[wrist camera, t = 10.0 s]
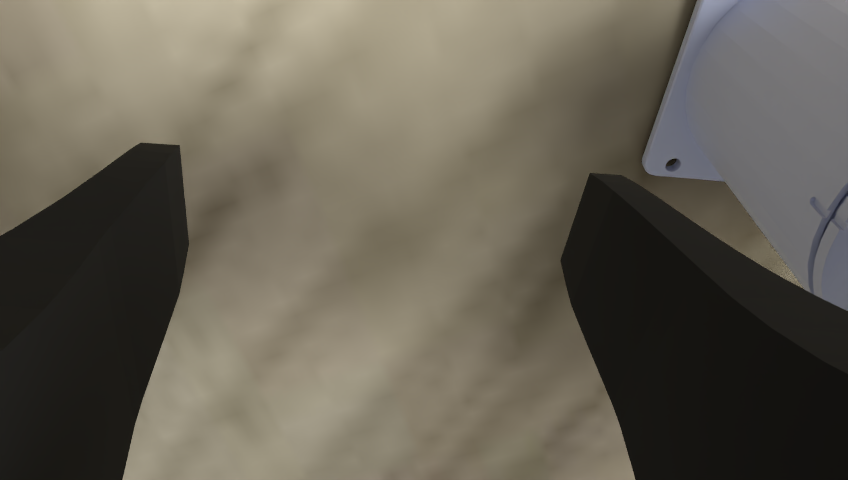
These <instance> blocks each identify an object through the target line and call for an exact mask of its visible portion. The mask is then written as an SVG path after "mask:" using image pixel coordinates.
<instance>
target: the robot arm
mask: <svg viewBox="0 0 848 480" xmlns="http://www.w3.org/2000/svg"><path fill="white" fill-rule="evenodd" d="M675 158H676V159H677V161H676V162H675V163H674V164H673V165H671V166H666V163H667V162H668V161H669V160H671V159H675ZM642 164H643V167H644V169H645V171H646V172H647V173H649V174H651V175H654V176H665V177H677V178H689V179H701V180H712V181H724V182H726V184H727V185H728V186H729V188H730V189H731V191H732V192H733V193H734V195H735V196H736V197H737V199H738V200H739V201H740V203H741V204H742V205H743V207H744V208H745V209H746V211H747V212H748V214H749V215H750V216H751V218H752V219H753V220H754V222H755V223H756V224H757V226H758V227H759V228H760V230H761V231H762V232H763V234H764V235H765V237H766V238H767V239H768V241H769V242H770V243H771V245H772V246H773V247H774V249H775V250H776V251H777V253H778V254H779V255H780V257H781V258H782V260H783V261H784V262H785V264H786V265H787V266H788V268H789V269H790V270H791V272H792V273H793V274H794V276H795V277H796V278H797V280H798V281H799V283H800V284H801V285H802V287H803V288H804V289H805V290H804V289H803V288H801V287H799V286H797V285H795V284H793V283H791V282H789V281H787V280H785V279H783V278H782V277H780V276H778V275H776V274H775V273H773V272H771V271H769V270H768V269H766V268H764V267H762V266H761V265H759V264H758V263H756V262H754V261H753V260H751V259H749V258H748V257H746V256H745V255H743V254H741V253H740V252H738V251H736V250H735V249H733V248H732V247H730V246H729V245H727V244H726V243H724V242H722V241H721V240H719V239H718V238H716V237H715V236H713V235H712V234H710V233H709V232H707V231H706V230H704V229H703V228H701V227H700V226H698V225H697V224H696V223H694V222H693V221H691V220H690V219H688V218H687V217H685V216H684V215H682V214H681V213H680V212H678V211H677V210H675V209H674V208H672V207H671V206H669V205H668V204H667V203H665V202H664V201H662V200H661V199H659V198H658V197H656V196H655V195H653V194H652V193H650V192H649V191H647V190H646V189H644V188H643V187H641V186H639V185H638V184H636V183H635V182H633V181H631V180H629V179H627V178H625V177H624V176H622V175H610V174H595V173H590V174H589V177H588V180H587V183H586V186H585V189H584V192H583V195H582V198H581V201H580V204H579V207H578V210H577V213H576V216H575V219H574V222H573V225H572V228H571V231H570V234H569V237H568V240H567V243H566V246H565V249H564V251H563V254H562V257H561V264H562V269H563V273H564V278H565V282H566V286H567V290H568V294H569V298H570V302H571V305H572V308H573V310H574V313H575V316H576V318H577V321H578V323H579V325H580V328H581V330H582V333H583V335H584V338H585V340H586V343H587V345H588V347H589V350H590V352H591V354H592V357H593V359H594V362H595V364H596V366H597V369H598V371H599V374H600V376H601V378H602V381H603V383H604V385H605V388H606V390H607V393H608V395H609V397H610V400H611V402H612V405H613V407H614V410H615V413H616V416H617V418H618V421H619V424H620V427H621V430H622V434H623V437H624V441H625V444H626V448H627V451H628V455H629V458H630V461H631V465H632V468H633V472H634V475H635V479H636V480H848V0H697V2H696V5H695V8H694V11H693V14H692V17H691V19H690V22H689V25H688V28H687V31H686V34H685V37H684V40H683V42H682V45H681V48H680V51H679V54H678V57H677V60H676V63H675V65H674V68H673V71H672V74H671V77H670V80H669V83H668V86H667V88H666V91H665V94H664V97H663V100H662V103H661V106H660V109H659V111H658V114H657V117H656V120H655V123H654V126H653V129H652V132H651V135H650V137H649V140H648V143H647V146H646V149H645V152H644V155H643V158H642ZM188 246H189V240H188V230H187V219H186V208H185V198H184V187H183V176H182V166H181V155H180V145H167V144H152V143H140V144H138V145H136V146H135V147H133V148H132V149H130V150H129V151H127V152H126V153H125V154H123V155H122V156H121V157H119V158H118V159H116V160H115V161H114V162H112V163H111V164H110V165H108V166H107V167H105V168H104V169H103V170H101V171H100V172H99V173H97V174H96V175H94V176H93V177H92V178H90V179H89V180H87V181H86V182H84V183H83V184H82V185H80V186H79V187H77V188H76V189H74V190H73V191H72V192H70V193H69V194H67V195H66V196H64V197H63V198H62V199H60V200H58V201H57V202H55V203H54V204H52V205H50V206H49V207H47V208H46V209H44V210H42V211H41V212H39V213H38V214H36V215H34V216H33V217H31V218H30V219H28V220H26V221H25V222H23V223H22V224H20V225H18V226H17V227H15V228H14V229H12V230H10V231H8V232H7V233H5V234H3V235H1V236H0V480H122V479H123V474H124V470H125V466H126V461H127V457H128V452H129V448H130V444H131V439H132V435H133V430H134V426H135V423H136V419H137V416H138V413H139V409H140V406H141V402H142V399H143V397H144V394H145V391H146V388H147V385H148V382H149V379H150V377H151V374H152V371H153V368H154V365H155V362H156V360H157V357H158V354H159V351H160V348H161V345H162V342H163V340H164V337H165V334H166V331H167V328H168V325H169V322H170V319H171V317H172V314H173V311H174V308H175V305H176V302H177V299H178V296H179V293H180V288H181V283H182V278H183V273H184V268H185V263H186V257H187V252H188Z"/></svg>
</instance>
